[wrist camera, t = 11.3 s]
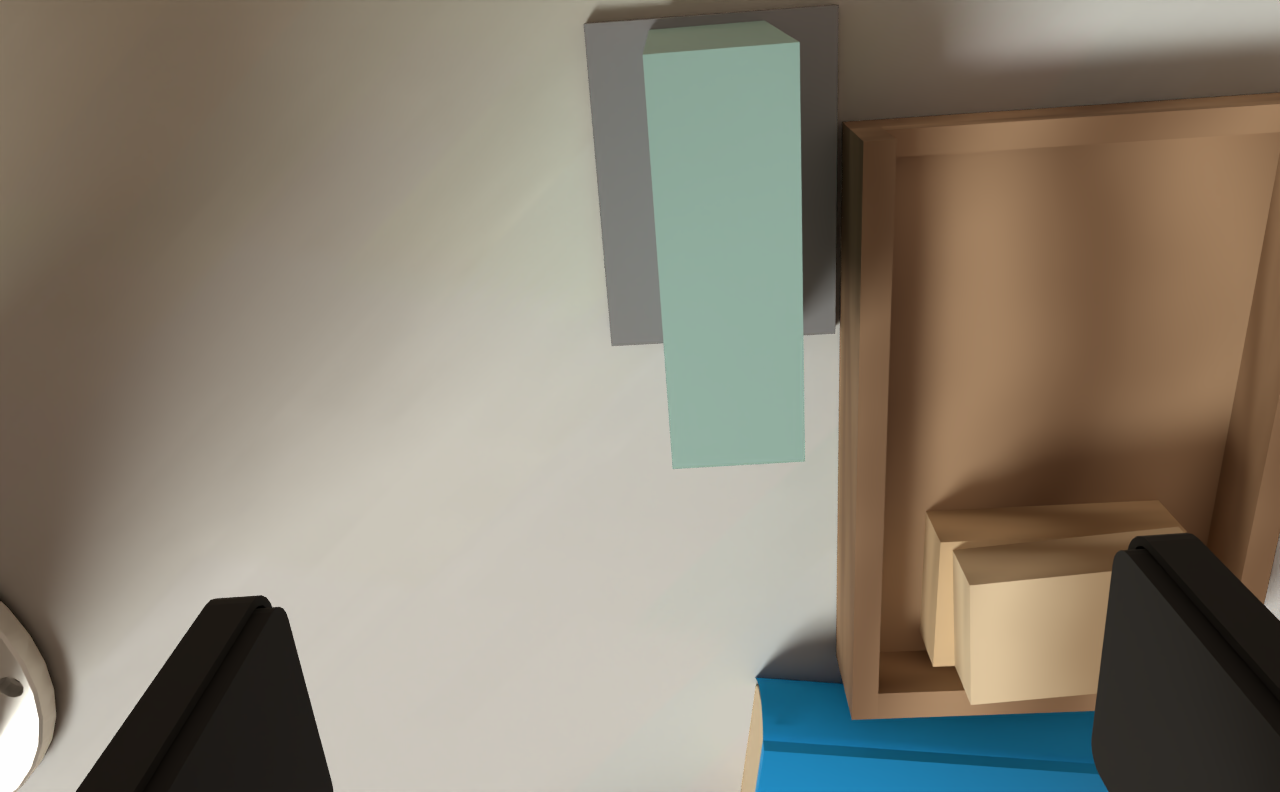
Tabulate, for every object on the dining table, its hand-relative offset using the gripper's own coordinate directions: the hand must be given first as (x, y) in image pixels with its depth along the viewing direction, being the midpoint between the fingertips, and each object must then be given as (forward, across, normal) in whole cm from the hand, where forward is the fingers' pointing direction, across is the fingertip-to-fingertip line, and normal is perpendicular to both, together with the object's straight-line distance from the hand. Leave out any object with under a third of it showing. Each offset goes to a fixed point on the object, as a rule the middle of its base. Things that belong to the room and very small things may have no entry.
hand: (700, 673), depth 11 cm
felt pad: (+19, -2, -2) cm, 19 cm away
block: (+18, -1, -2) cm, 19 cm away
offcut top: (+16, -11, +11) cm, 22 cm away
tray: (+19, -11, +6) cm, 22 cm away
